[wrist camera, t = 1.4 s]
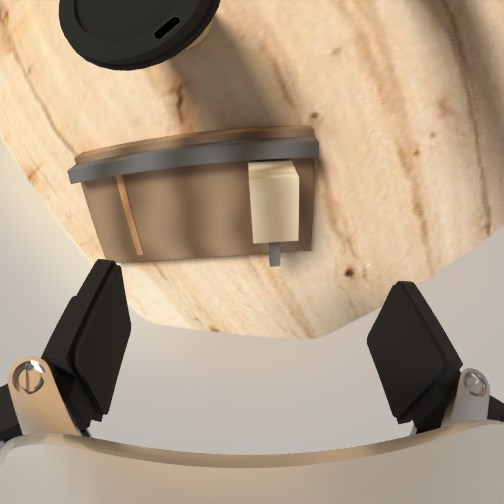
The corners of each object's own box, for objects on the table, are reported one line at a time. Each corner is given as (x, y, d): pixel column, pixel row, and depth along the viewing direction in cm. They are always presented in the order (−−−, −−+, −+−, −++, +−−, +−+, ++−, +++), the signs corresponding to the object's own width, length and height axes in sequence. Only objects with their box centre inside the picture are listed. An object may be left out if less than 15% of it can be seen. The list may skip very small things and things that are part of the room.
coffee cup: (189, -36, 18) (147, -102, 6) (252, 25, 23) (261, -13, 10) (114, 26, 22) (24, 14, 9) (174, 86, 26) (115, 107, 14)
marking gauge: (289, 155, 29) (299, 177, 24) (289, 241, 34) (297, 275, 29) (247, 158, 29) (248, 180, 24) (253, 244, 34) (255, 278, 30)
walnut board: (309, 125, 29) (318, 134, 26) (307, 240, 37) (313, 260, 33) (82, 152, 29) (65, 164, 26) (112, 254, 37) (102, 273, 34)
